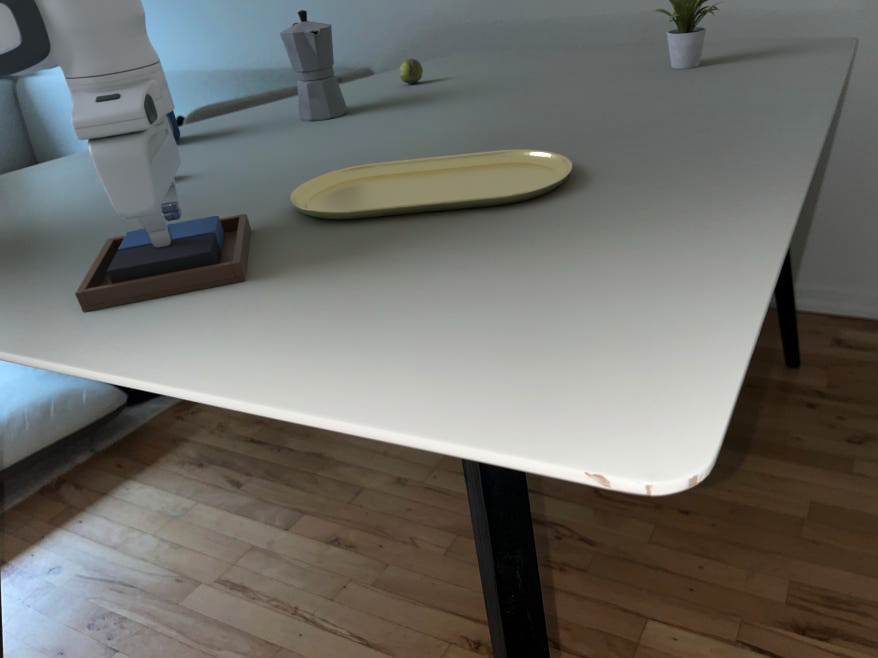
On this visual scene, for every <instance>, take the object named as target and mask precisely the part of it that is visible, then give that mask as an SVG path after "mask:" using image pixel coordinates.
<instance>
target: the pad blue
mask: <svg viewBox="0 0 878 658" xmlns="http://www.w3.org/2000/svg"><path fill="white" fill-rule="evenodd" d="M167 225H168V226H169V229H170V232H171V235H172V240H171V241H176V240H182V239H187V238H192V237H198V236H203V235H209V234H215V235H216V239H217V242H218V245H219V248H220V251H221V252H222V247H223V242H224V237H225V234H224V231H223V228H222V225H221V221H220V216H219V215H211V216H207V217H202V218H196V219H191V220H185V221H179V222H175V223H169V224H167ZM124 236H125V237H124V239H123V241H122V243H121V245H120V247H119V248H118V250H119V251H122V250H127V249H133V248H138V247H143V246H149V245H153V244H152V241H151V239H150V236H149V233H148V232H147V230H146V229H145V228H141V229H135V230H130V231H127V232H126V233H125V235H124Z"/></svg>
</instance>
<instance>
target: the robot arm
mask: <svg viewBox="0 0 878 658" xmlns="http://www.w3.org/2000/svg"><path fill="white" fill-rule="evenodd" d="M146 23H147V22H146V11H145V7H144V5H143V2H142V0H0V76H1V77H5V76H9V77H14V76H15V77H16V76H18V77H19V76H20V77H21V76H25V75H30V74H34V73H37V72H42V71H46V70H47V71H48V70H52V69H56V68H58V67H59V68H60V69H61V71H62V73H63V77H64V80H65V82H66V85H67V88H68V90H69V92H70V99H71V102H72V109H71V114H70V123H71V126H72V129H73V132H74V134H75V136H76V138H77V139H78V140H79V141H87V149H88V153H89V156H90V159H91V162H92V164H93V166H94V169H95V171H96V173H97V175H98V178H99V180H100V182H101V185H102V187H103V189H104V191H105V193H106V195H107V197H108V200H109V202H110V203H111V206H112V207H113V209H114V210H115V212H116V213H117V215H119V216H120V217H121V218H122V219H124V220H130V219H136V218H138V221H139V222H140V223H141V225H142V226H143V229H146V230H147V232H148V233H149V236H150V239H151V241H152V244H153V246H154V247H157V248H159V247H165V246H169V245H170V244H171V240H172V235H171V232H170V229H169V226H168V224H167V223H166V221H168V222H171V221H178V220H179V219H180V218H181V217H182V214H183V210H182V207H181V205H180V201H179V195H178V188H177V182H176V179H175V177H176V174H177V173H178V171H179V168H180V166H181V164H182V159H181V153H180V150H179V148H178V144H177V143H176V141H175V139H174V136H173V133H172V130H171V127H170V125H169V122H168V119H167V117H166V114H168V113H170V112H172V111H174V110H175V108H176V107H175V103H174V99H173V98H172V95H171V91H170V88H169V85H168V81H167V78H166V75H165V72H164V68H163V65H162V62H161V59H160V56H159V54H158V52H157V51H156V49H155V48H154V46H153V45H152V43H151V40H150V38H149V35H148V31H147V24H146Z"/></svg>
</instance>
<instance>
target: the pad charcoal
mask: <svg viewBox="0 0 878 658" xmlns="http://www.w3.org/2000/svg"><path fill="white" fill-rule="evenodd" d="M220 260H221V251H220V248H219V245H218V242H217V239H216V235H215V234H209V235H203V236H198V237H192V238H187V239H182V240H176V241H171V244H170V245H169V246H165V247H159V248H157V247H154V246H153V245H149V246H143V247H138V248H133V249H127V250H122V251H117V253H116V255H115V257H114V259H113V260H112V262H111V264H110V266H109V268H108V270H107V273H108V275H109V278H110V280H111V283H112V284H115V283H120V282H125V281H130V280H136V279H141V278H146V277H152V276H157V275H162V274H167V273H173V272H178V271H183V270H189V269H194V268H199V267H204V266H210V265H215V264H220Z"/></svg>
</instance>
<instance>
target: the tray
mask: <svg viewBox="0 0 878 658" xmlns="http://www.w3.org/2000/svg"><path fill="white" fill-rule="evenodd" d="M219 218H220V217H219ZM220 221H221V225H222V228H223V231H224V234H225V237H224V242H223V247H222V252H221V260H220V264H215V265H210V266H204V267H199V268H194V269H189V270H183V271H178V272H173V273H167V274H162V275H157V276H152V277H146V278H141V279H136V280H130V281H125V282H120V283H115V284H112V283H111V280H110V278H109V275H108V273H107V270H108V268H109V266H110V264H111V262H112V260H113V259H114V257H115V255H116V253H117V251H119V250H118V248H119V247H120V245H121V243H122V241H123V239H124V237H125V235H120V236H116V237H110V238H106V241H105V242H104V245H103V246H102V248H101V249H100V251H99V253H98V254H97V256H96V258H95V260H94V261H93V263H92V265H91V266H90V268H89V270H88V271H87V273H86V275H85V276H84V278H83V280H82V281H81V283H80V284H79V287H78V288H77V290H76V291H75V293H74V294H75V298H76V299H77V302H78V305H79V306H80V309H81V311H82V312H83V313H85V312H91V311H96V310H101V309H106V308H111V307H116V306H122V305H127V304H131V303H132V304H133V303H136V302H142V301H146V300H152V299H157V298H163V297H167V296H168V297H169V296H173V295H179V294H183V293H189V292H194V291H199V290H205V289H209V288H215V287H220V286H225V285H230V284H234V283H239V282H245V281H246V279H247V278H246V277H247V269H248V260H249V252H250V251H249V250H250V241H251V233H252V228H251V224H250V222H249V221H250V220H249V217H248V215H247V213H243V214H236V215H231V216H225V217H221V218H220Z"/></svg>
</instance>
